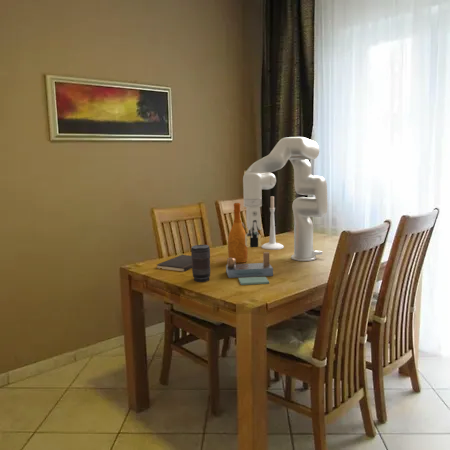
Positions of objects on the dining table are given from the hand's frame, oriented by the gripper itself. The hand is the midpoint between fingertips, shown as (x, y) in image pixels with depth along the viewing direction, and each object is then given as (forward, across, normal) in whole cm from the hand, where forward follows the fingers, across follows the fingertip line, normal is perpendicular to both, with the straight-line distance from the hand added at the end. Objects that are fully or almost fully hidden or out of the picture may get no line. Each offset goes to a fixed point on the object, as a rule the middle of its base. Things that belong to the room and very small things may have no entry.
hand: (253, 245), depth 187 cm
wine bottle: (+16, +36, +2) cm, 40 cm away
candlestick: (+16, +66, -22) cm, 72 cm away
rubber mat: (+16, 0, 0) cm, 16 cm away
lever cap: (0, 0, 0) cm, 0 cm away
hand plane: (+16, +12, 0) cm, 20 cm away
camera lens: (+16, +6, +22) cm, 28 cm away
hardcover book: (+17, +36, +30) cm, 49 cm away
